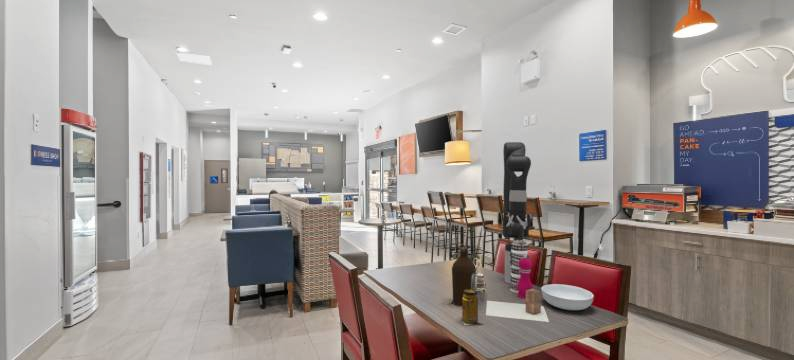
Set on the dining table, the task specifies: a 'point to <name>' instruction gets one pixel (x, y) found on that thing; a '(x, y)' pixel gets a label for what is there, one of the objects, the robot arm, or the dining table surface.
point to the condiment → (470, 307)
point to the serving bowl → (567, 296)
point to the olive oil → (462, 276)
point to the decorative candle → (516, 262)
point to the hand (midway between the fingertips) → (517, 236)
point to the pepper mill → (524, 277)
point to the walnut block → (533, 301)
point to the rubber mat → (513, 311)
